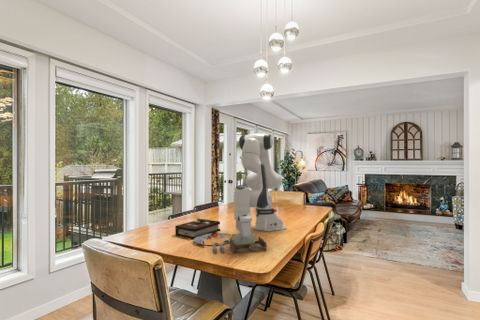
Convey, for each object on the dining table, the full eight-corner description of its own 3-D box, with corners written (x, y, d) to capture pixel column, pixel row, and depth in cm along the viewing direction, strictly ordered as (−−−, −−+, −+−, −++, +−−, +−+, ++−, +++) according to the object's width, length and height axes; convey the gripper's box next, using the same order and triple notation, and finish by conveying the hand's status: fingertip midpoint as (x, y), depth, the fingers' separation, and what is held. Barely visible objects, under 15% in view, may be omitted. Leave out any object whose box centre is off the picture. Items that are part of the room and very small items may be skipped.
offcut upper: (258, 245, 146) (258, 243, 146) (260, 247, 143) (260, 245, 143) (250, 246, 145) (250, 244, 145) (252, 248, 141) (252, 246, 141)
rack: (259, 246, 153) (259, 236, 153) (266, 253, 141) (266, 242, 141) (229, 248, 149) (229, 239, 149) (234, 255, 137) (234, 245, 137)
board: (253, 245, 150) (253, 232, 150) (254, 246, 148) (254, 233, 148) (234, 247, 147) (234, 234, 147) (234, 248, 146) (234, 235, 146)
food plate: (216, 233, 180) (215, 228, 180) (243, 240, 166) (243, 234, 165) (186, 243, 161) (186, 237, 161) (214, 252, 146) (214, 245, 146)
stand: (224, 250, 146) (224, 243, 146) (226, 255, 138) (226, 248, 138) (211, 251, 145) (211, 244, 145) (212, 256, 137) (212, 249, 137)
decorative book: (171, 225, 177) (203, 217, 201) (171, 236, 177) (203, 227, 201) (192, 228, 166) (223, 219, 190) (192, 241, 165) (223, 230, 190)
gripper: (232, 212, 157) (233, 236, 157) (240, 219, 137) (241, 247, 137) (243, 211, 158) (243, 235, 158) (252, 218, 138) (253, 246, 138)
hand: (242, 241), depth 147 cm, fingers closed on board, 2 cm apart
